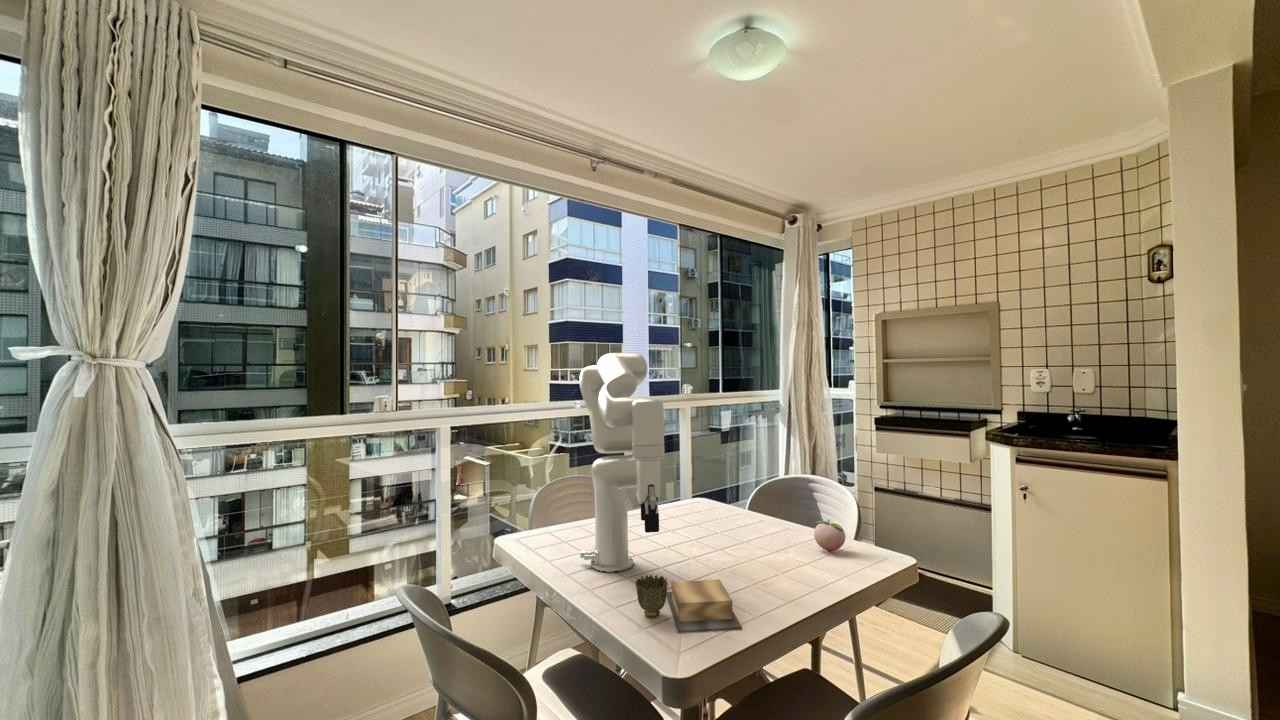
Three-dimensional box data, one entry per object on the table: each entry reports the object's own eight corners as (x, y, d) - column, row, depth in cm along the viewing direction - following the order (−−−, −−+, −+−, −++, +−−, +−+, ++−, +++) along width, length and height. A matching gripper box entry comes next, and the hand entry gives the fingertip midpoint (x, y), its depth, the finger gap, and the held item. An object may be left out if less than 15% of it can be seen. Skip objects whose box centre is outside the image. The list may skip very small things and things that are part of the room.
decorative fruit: (809, 552, 158) (808, 520, 159) (819, 545, 164) (818, 514, 165) (840, 559, 152) (839, 525, 152) (849, 552, 158) (848, 519, 159)
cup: (634, 609, 122) (634, 575, 122) (665, 607, 122) (665, 573, 123) (637, 624, 114) (636, 587, 115) (670, 622, 115) (669, 586, 115)
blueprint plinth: (678, 632, 110) (677, 611, 110) (665, 593, 130) (665, 575, 130) (742, 629, 111) (741, 608, 111) (720, 591, 131) (719, 573, 131)
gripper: (629, 447, 128) (631, 516, 128) (635, 457, 111) (636, 537, 110) (659, 446, 129) (661, 515, 128) (669, 456, 112) (671, 536, 111)
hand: (649, 525), depth 119 cm, fingers open, 9 cm apart
